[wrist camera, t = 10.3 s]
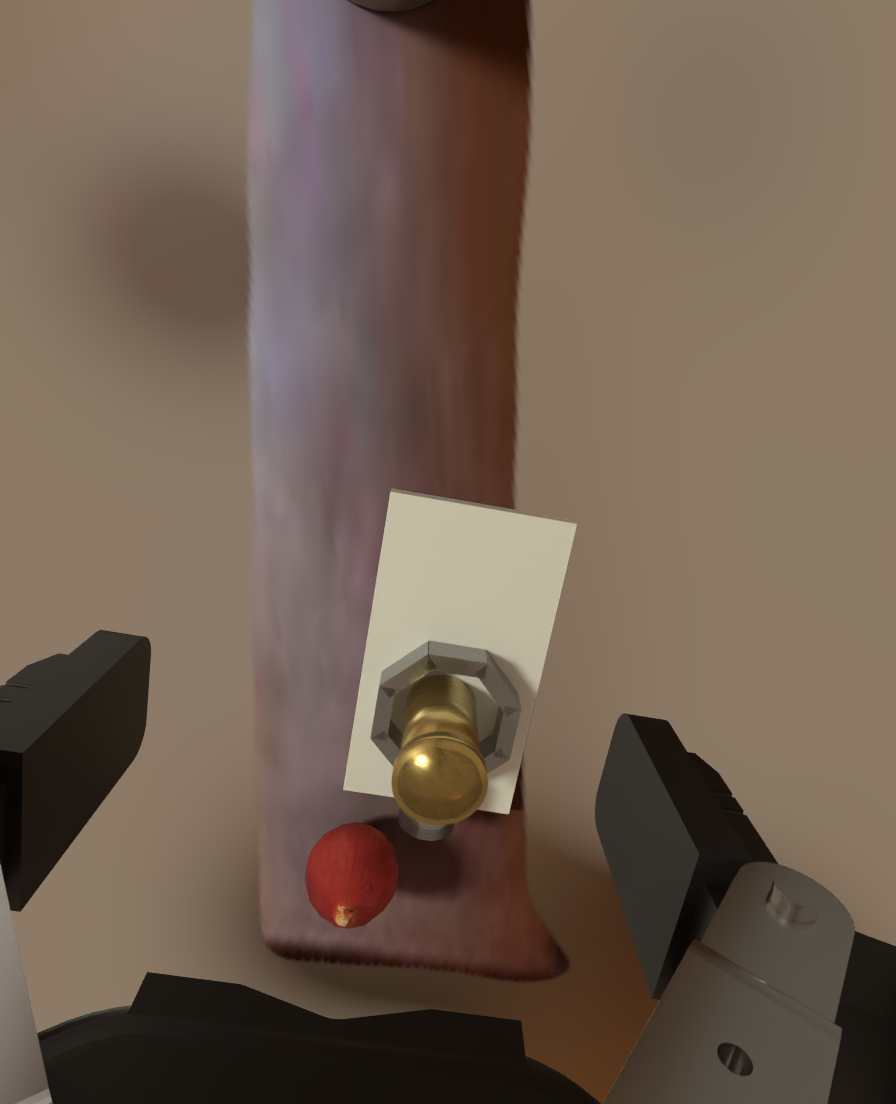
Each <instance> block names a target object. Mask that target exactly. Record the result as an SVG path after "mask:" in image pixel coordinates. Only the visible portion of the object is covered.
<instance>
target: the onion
mask: <svg viewBox="0 0 896 1104" xmlns="http://www.w3.org/2000/svg"><path fill="white" fill-rule="evenodd" d="M398 873H399V867H398V862H397V858H396V854H395V850H394V847H393V846H392V844H391V843H390V842H389V841H388V839H387V838H386V837H385V836H384V834H383V833H382V832H381V831H379V830H377V829H376V828H374V827H372V826H371V825H366V824H361V823H351V824H344V825H341V826H339V827H337V828H335V829H333V830H331V831H329V832H328V833H326V834H324V835H323V836H322V838H321V839H320V840H319V841H318V842H317V843H316V845H315V846H314V847H313V849H312V851H311V852H310V854H309V858H308V863H307V868H306V875H305V882H306V888H307V892H308V896H309V900H310V902H311V904H312V906H313V907H314V908H315V910H316V911H317V912H318V914H319V915H320V916H321V917H322V918H324V919H325V920H326V921H328V922H329V923H331V924H332V925H333V926H336V927H342V928H347V929H348V928H353V927H358V926H363V925H366V924H367V923H368V922H369V921H371V920H372V919H373V918H374V917H376V916H377V915H378V914H380V913H381V912H382V911H383V910H384V909H385V908H386V906H387V905H388V903H389V902H390V901H391V899H392V897H393V895H394V893H395V890H396V885H397V879H398Z"/></svg>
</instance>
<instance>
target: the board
mask: <svg viewBox="0 0 896 1104" xmlns="http://www.w3.org/2000/svg"><path fill="white" fill-rule="evenodd" d="M576 527H577V523H576V522H575V520H571V519H566V518H560V517H554V516H548V515H543V514H537V513H530V512H525V511H520V510H514V509H508V508H502V507H497V506H491V505H485V504H479V503H474V502H468V501H462V500H456V499H450V498H445V497H439V496H433V495H427V494H422V493H416V492H410V491H404V490H399V489H393V488H392V489H391V492H390V498H389V505H388V511H387V517H386V523H385V530H384V536H383V542H382V549H381V555H380V561H379V567H378V574H377V580H376V586H375V593H374V599H373V605H372V611H371V618H370V624H369V630H368V637H367V643H366V649H365V655H364V662H363V668H362V674H361V681H360V687H359V693H358V699H357V706H356V712H355V718H354V725H353V731H352V737H351V744H350V750H349V756H348V762H347V769H346V775H345V781H344V788H343V790H348V791H355V792H361V793H368V794H375V795H382V796H388V797H394V795H393V792H392V784H391V782H392V773H393V766H392V765H391V763H390V762H389V761H388V760H387V759H386V757H385V756H384V755H383V754H382V752H381V751H380V750H379V749H378V748H377V746H376V745H375V744H374V743H373V742H372V740H371V738H370V737H371V731H372V725H373V719H374V713H375V707H376V701H377V695H378V689H379V684H380V678H381V673H382V671H383V670H384V669H386V668H387V667H389V666H390V665H392V664H393V663H395V662H396V661H398V660H400V659H401V658H403V657H404V656H406V655H407V654H409V653H410V652H412V651H413V650H415V649H416V648H418V647H419V646H421V645H422V644H424V643H426V642H427V641H429V640H430V641H436V642H442V643H448V644H455V645H461V646H467V647H473V648H479V649H486V650H487V651H488V653H489V654H490V655H491V657H492V658H493V660H494V661H495V662H496V664H497V665H498V666H499V668H500V669H501V670H502V672H503V673H504V674H505V676H506V677H507V678H508V680H509V681H510V682H511V684H512V685H513V687H514V688H515V689H516V691H517V692H518V696H519V700H520V704H521V713H520V717H519V722H518V726H517V730H516V735H515V739H514V743H513V748H512V752H511V756H510V760H509V761H507V762H506V763H504V764H502V765H501V766H499V767H497V768H496V769H494V770H492V771H491V772H489V773H487V778H488V788H487V793H486V797H485V799H484V801H483V803H482V804H481V806H480V807H479V808H478V809H477V810H483V811H490V812H497V813H503V814H509V811H510V807H511V803H512V798H513V794H514V790H515V786H516V781H517V777H518V773H519V769H520V765H521V760H522V756H523V752H524V748H525V743H526V739H527V735H528V731H529V726H530V722H531V718H532V714H533V709H534V705H535V701H536V696H537V693H538V688H539V684H540V680H541V676H542V671H543V667H544V663H545V658H546V654H547V650H548V646H549V642H550V637H551V633H552V629H553V625H554V620H555V616H556V612H557V608H558V604H559V599H560V595H561V591H562V586H563V582H564V578H565V573H566V570H567V565H568V561H569V557H570V552H571V548H572V544H573V540H574V535H575V531H576ZM435 675H447V676H452V677H455V678H457V679H459V680H461V681H462V682H464V683H465V684H466V685H467V686H468V687H469V688H470V689H471V691H472V692H473V695H474V697H475V701H476V710H477V723H478V736H479V742H481V741H483V740H484V739H486V738H488V737H489V736H491V735H492V734H493V730H494V726H495V721H496V717H497V712H498V707H499V705H498V704H497V702H496V701H495V700H494V698H493V697H492V696H491V694H490V693H489V692H488V690H487V689H486V688H485V686H484V685H483V684H482V682H481V681H480V680H479V678H476V677H470V676H464V675H457V674H451V673H445V672H438V671H431V672H429V673H428V674H426V675H425V676H423V677H422V678H420V679H418V680H417V681H415V682H414V683H412V684H411V685H409V686H408V687H406V688H405V689H403V690H401V691H400V692H398V693H397V694H395V696H394V702H393V707H392V713H391V720H392V722H393V723H394V724H395V725H396V727H397V728H398V729H399V730H400V732H401V733H402V734H403V727H404V718H405V709H406V701H407V697H408V695H409V693H410V691H411V689H412V688H413V687H414V686H415V685H416V684H417V683H418V682H420V681H421V680H423V679H425V678H427V677H430V676H435Z"/></svg>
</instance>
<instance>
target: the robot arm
mask: <svg viewBox="0 0 896 1104" xmlns="http://www.w3.org/2000/svg"><path fill="white" fill-rule="evenodd" d="M350 1H352V2H353V3H355V4H357V5H360V6H363V7H366V8H369V9H372V10H376V11H387V12H398V11H405V10H411V9H415V8H417V7H420V6H422V5H424V4H427V3H429V2H431V1H433V0H350ZM150 659H151V645H150V641H149V639H148V638H147V637H142V636H136V635H129V634H123V633H117V632H111V631H104V630H99V631H97V632H96V633H95V634H93V635H92V636H91V637H90V638H88V639H87V640H86V641H85V642H84V643H82V644H81V645H80V646H79V647H78V648H76V649H75V650H74V651H73V652H72V653H70V654H69V655H65V654H56V655H54V656H51V657H49V658H46V659H43V660H41V661H38V662H36V663H33V664H30V665H27V666H26V667H25V668H24V669H22V670H21V671H20V672H18V673H17V674H16V675H14V676H13V677H12V678H11V679H9V680H8V681H7V682H6V685H1V686H0V1104H600V1102H598V1101H597V1100H596V1099H595V1098H594V1097H592V1096H591V1095H590V1094H589V1093H587V1092H586V1091H585V1090H584V1089H582V1088H581V1087H580V1086H579V1085H577V1084H576V1083H575V1082H573V1081H572V1080H570V1079H569V1078H567V1077H566V1076H564V1075H563V1074H561V1073H560V1072H558V1071H556V1070H554V1069H552V1068H550V1067H548V1066H547V1065H544V1064H543V1063H541V1062H539V1061H537V1060H534V1059H532V1058H529V1057H527V1056H525V1049H524V1040H523V1032H522V1024H521V1021H519V1020H510V1019H503V1018H496V1017H488V1016H480V1015H472V1014H465V1013H457V1012H449V1011H442V1010H434V1009H429V1010H420V1011H411V1012H402V1013H394V1014H386V1015H377V1016H368V1017H359V1018H350V1019H330V1018H327V1017H323V1016H321V1015H318V1014H315V1013H313V1012H310V1011H308V1010H305V1009H303V1008H300V1007H298V1006H295V1005H292V1004H290V1003H287V1002H285V1001H282V1000H280V999H277V998H275V997H272V996H270V995H267V994H264V993H262V992H259V991H257V990H254V989H252V988H249V987H247V986H244V985H241V984H233V983H227V982H219V981H211V980H203V979H196V978H188V977H179V976H173V975H165V974H157V973H149V972H147V974H146V976H145V978H144V980H143V982H142V984H141V986H140V989H139V991H138V993H137V995H136V997H135V999H134V1001H133V1003H132V1006H124V1007H117V1008H112V1009H107V1010H103V1011H98V1012H93V1013H90V1014H87V1015H84V1016H80V1017H77V1018H74V1019H71V1020H68V1021H65V1022H63V1023H61V1024H58V1025H56V1026H53V1027H51V1028H49V1029H46V1030H44V1031H41V1032H39V1033H37V1031H36V1027H35V1022H34V1017H33V1013H32V1008H31V1003H30V999H29V994H28V990H27V985H26V980H25V976H24V971H23V967H22V962H21V957H20V953H19V948H18V943H17V939H16V934H15V930H14V925H13V920H12V916H11V911H10V910H12V911H21V910H22V909H23V908H24V906H25V905H26V903H27V902H28V901H29V899H30V898H31V897H32V896H33V894H34V893H35V891H36V890H37V889H38V888H39V886H40V885H41V884H42V882H43V881H44V879H45V878H46V877H47V875H48V874H49V873H50V871H51V870H52V869H53V867H54V866H55V865H56V863H57V862H58V861H59V859H60V858H61V857H62V855H63V854H64V853H65V851H66V850H67V849H68V847H69V846H70V845H71V843H72V842H73V841H74V839H75V838H76V837H77V835H78V834H79V833H80V831H81V830H82V829H83V827H84V826H85V824H86V823H87V822H88V820H89V819H90V818H91V816H92V815H93V814H94V812H95V811H96V810H97V808H98V807H99V806H100V804H101V803H102V802H103V800H104V799H105V798H106V796H107V795H108V794H109V792H110V791H111V790H112V788H113V787H114V786H115V784H116V783H117V782H118V780H119V779H120V778H121V776H122V775H123V774H124V772H125V771H126V770H127V768H128V767H129V766H130V764H131V763H132V762H133V760H134V758H135V757H136V755H137V753H138V751H139V748H140V746H141V743H142V740H143V736H144V732H145V727H146V718H147V703H148V689H149V673H150ZM595 820H596V827H597V831H598V835H599V837H600V840H601V844H602V847H603V850H604V853H605V856H606V859H607V862H608V865H609V868H610V871H611V874H612V878H613V881H614V883H615V887H616V890H617V893H618V896H619V899H620V902H621V905H622V908H623V911H624V914H625V917H626V921H627V923H628V926H629V930H630V933H631V936H632V939H633V942H634V945H635V948H636V951H637V954H638V957H639V960H640V963H641V967H642V970H643V972H644V976H645V979H646V982H647V985H648V988H649V991H650V994H651V997H652V999H659V1000H660V1001H659V1002H658V1004H657V1006H656V1008H655V1010H654V1012H653V1013H652V1015H651V1017H650V1019H649V1021H648V1023H647V1024H646V1026H645V1028H644V1030H643V1032H642V1034H641V1035H640V1037H639V1039H638V1041H637V1043H636V1044H635V1046H634V1048H633V1050H632V1052H631V1053H630V1055H629V1057H628V1059H627V1061H626V1062H625V1064H624V1066H623V1068H622V1070H621V1072H620V1073H619V1075H618V1077H617V1079H616V1081H615V1083H614V1084H613V1086H612V1088H611V1090H610V1092H609V1093H608V1095H607V1097H606V1099H605V1101H604V1103H603V1104H896V946H893V945H890V944H888V943H885V942H882V941H880V940H877V939H874V938H872V937H868V936H866V935H863V934H861V933H859V932H856V931H855V926H854V922H853V920H852V917H851V915H850V914H849V912H848V911H847V909H846V908H845V906H844V905H843V904H842V903H841V902H840V901H839V899H838V898H836V897H835V896H834V895H833V894H832V893H831V892H830V891H829V890H827V889H826V888H825V887H824V886H822V885H821V884H819V883H818V882H816V881H815V880H813V879H812V878H810V877H808V876H806V875H804V874H802V873H800V872H798V871H796V870H793V869H791V868H788V867H786V866H782V865H779V864H778V863H777V861H776V860H775V858H774V857H773V855H772V854H771V852H770V851H769V849H768V847H767V846H766V844H765V843H764V841H763V840H762V838H761V837H760V835H759V834H758V832H757V831H756V829H755V828H754V826H753V825H752V823H751V822H750V820H749V819H748V817H747V816H746V815H743V809H742V808H741V807H740V805H739V804H738V802H737V800H736V799H735V798H733V797H732V793H731V791H730V790H729V788H728V787H727V785H726V784H725V782H724V780H723V779H722V777H721V776H720V774H719V773H718V772H717V771H716V770H714V769H713V768H712V767H711V766H710V765H708V764H707V763H706V762H705V761H704V760H702V759H701V758H700V757H699V756H698V755H696V754H695V753H689V752H687V751H686V749H685V748H684V746H683V745H682V743H681V741H680V740H679V738H678V736H677V735H676V733H675V731H674V730H673V728H672V726H671V725H670V723H669V722H668V721H666V720H662V719H656V718H649V717H642V716H636V715H630V714H622V715H621V716H620V718H619V719H618V721H617V723H616V726H615V729H614V733H613V736H612V740H611V744H610V747H609V751H608V755H607V758H606V762H605V766H604V769H603V773H602V776H601V780H600V784H599V788H598V792H597V796H596V806H595Z"/></svg>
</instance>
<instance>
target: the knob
mask: <svg viewBox="0 0 896 1104" xmlns="http://www.w3.org/2000/svg"><path fill="white" fill-rule="evenodd" d="M391 784H392V792H393V795H394V798H395V800H396V802H397V804H398V805H399V806H400V808H401V809H402V810H403V811H404V812H405V813H407V814H408V815H409V816H411V817H412V818H414V819H416V820H418V821H420V822H424V823H427V824H432V825H447V824H452V823H456V822H459V821H462V820H464V819H466V818H467V817H469V816H470V815H472V814H473V813H474V812H475V811H476V810H477V809H478V808H479V807H480V806H481V804H482V803H483V801H484V799H485V797H486V793H487V788H488V778H487V768H486V763H485V760H484V757H483V755H482V753H481V752H480V749H479V736H478V723H477V710H476V701H475V697H474V695H473V692H472V691H471V689H470V688H469V687H468V686H467V685H466V684H465V683H464V682H462V681H461V680H459V679H457V678H455V677H452V676H447V675H435V676H430V677H427V678H425V679H423V680H421V681H420V682H418V683H417V684H416V685H415V686H414V687H413V688H412V689H411V691H410V693H409V695H408V697H407V701H406V709H405V718H404V727H403V736H402V744H401V750H400V751H399V753H398V755H397V756H396V759H395V762H394V766H393V773H392V782H391Z"/></svg>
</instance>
